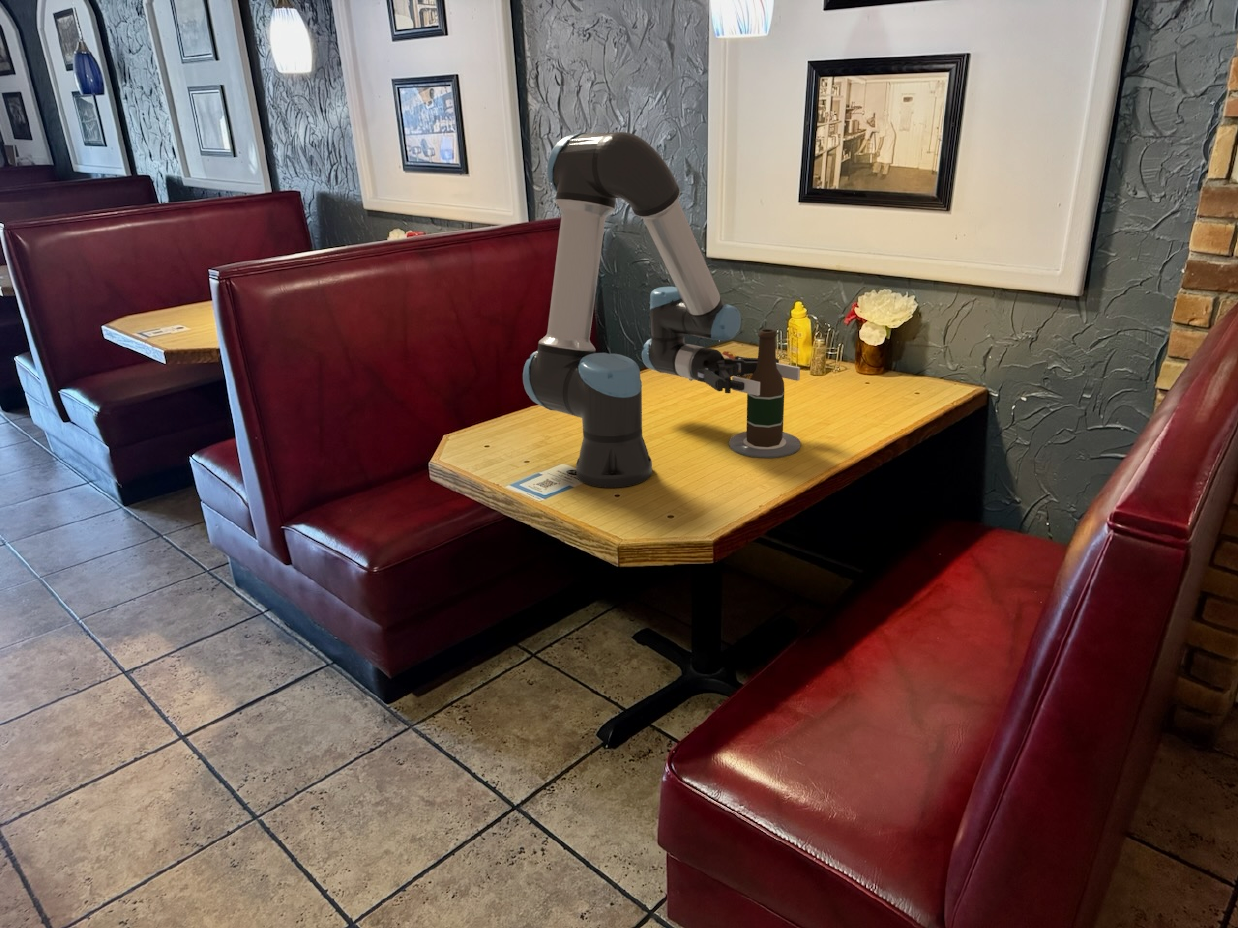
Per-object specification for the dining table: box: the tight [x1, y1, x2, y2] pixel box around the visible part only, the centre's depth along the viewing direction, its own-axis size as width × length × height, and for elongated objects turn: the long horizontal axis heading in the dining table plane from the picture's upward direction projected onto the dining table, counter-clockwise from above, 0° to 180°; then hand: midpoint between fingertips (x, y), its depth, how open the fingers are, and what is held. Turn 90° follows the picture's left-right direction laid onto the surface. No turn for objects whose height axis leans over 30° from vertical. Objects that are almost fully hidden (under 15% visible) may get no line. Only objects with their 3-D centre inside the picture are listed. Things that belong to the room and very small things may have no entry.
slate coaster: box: [728, 430, 801, 459], centre depth 180 cm, size 15×15×1 cm
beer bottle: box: [746, 328, 785, 447], centre depth 175 cm, size 8×8×24 cm
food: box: [721, 350, 751, 378], centre depth 233 cm, size 14×6×5 cm, turn 21°
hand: (779, 381), depth 172 cm, fingers open, 13 cm apart
